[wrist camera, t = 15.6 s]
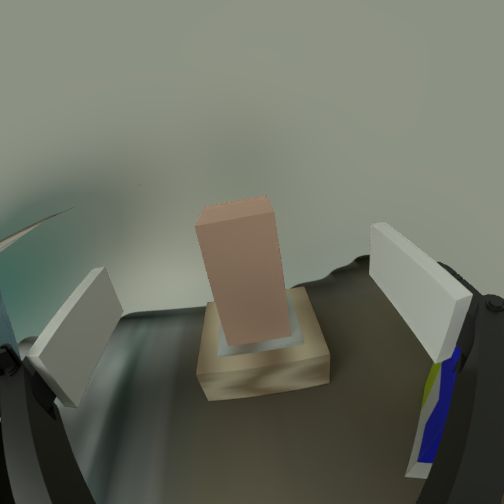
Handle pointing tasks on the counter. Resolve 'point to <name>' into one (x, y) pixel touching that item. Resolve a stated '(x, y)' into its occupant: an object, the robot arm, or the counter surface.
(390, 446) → the counter surface
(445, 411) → the puzzle toy
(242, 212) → the pillar block
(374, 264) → the robot arm
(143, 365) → the counter surface
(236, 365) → the pedestal
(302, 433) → the counter surface
